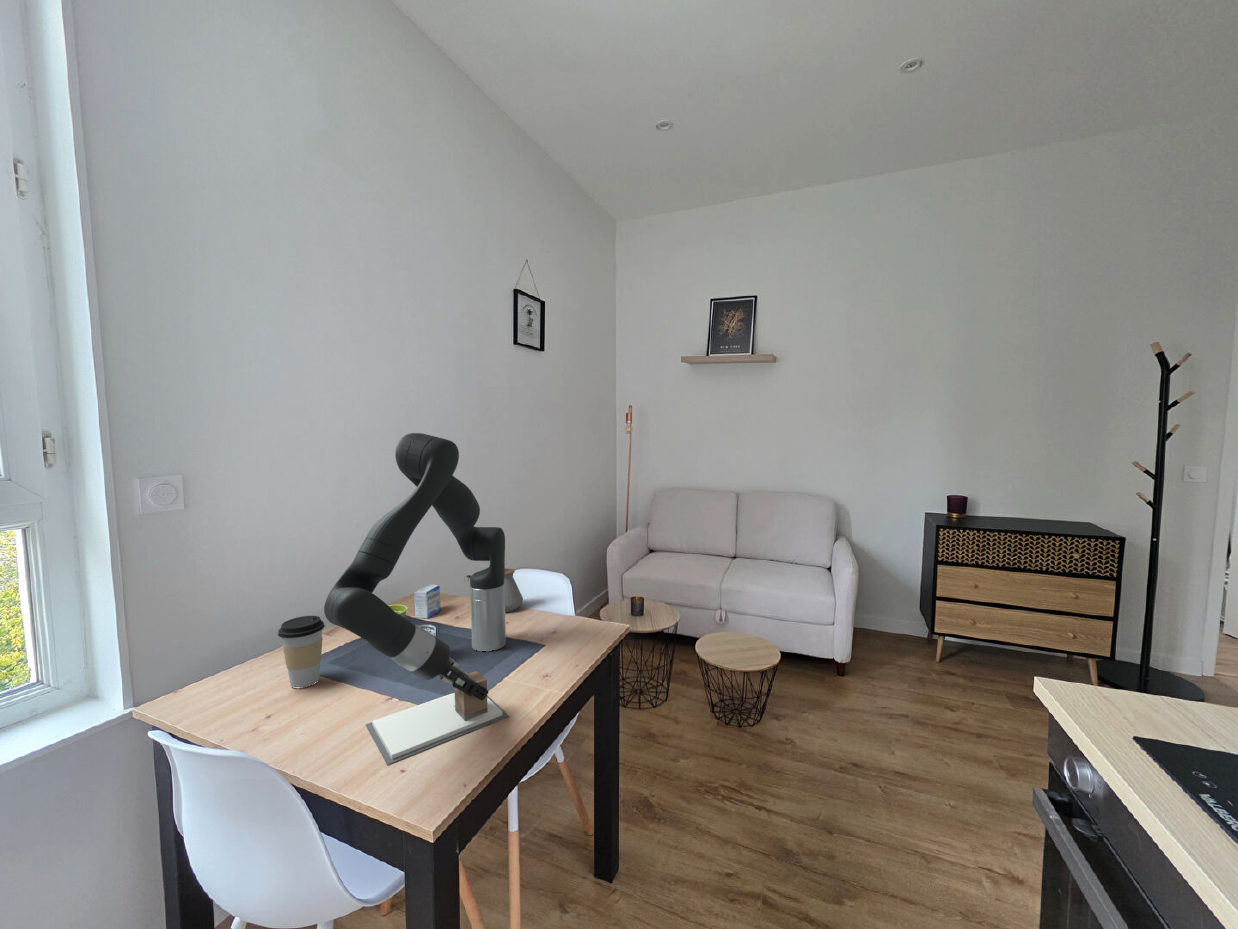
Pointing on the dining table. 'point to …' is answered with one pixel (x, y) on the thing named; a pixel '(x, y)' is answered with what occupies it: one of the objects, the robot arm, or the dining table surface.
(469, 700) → the block
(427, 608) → the medicine box
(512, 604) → the coffee pot
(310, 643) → the coffee cup
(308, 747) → the dining table surface
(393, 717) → the board
